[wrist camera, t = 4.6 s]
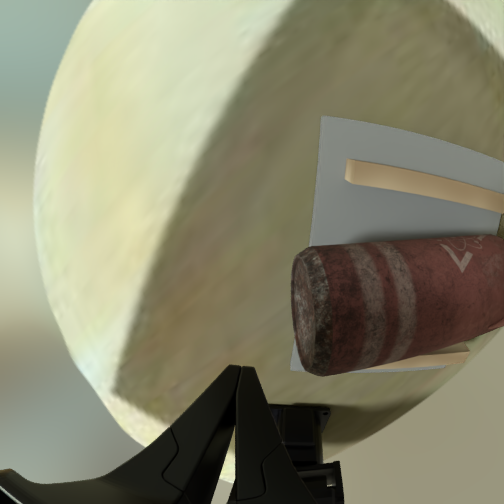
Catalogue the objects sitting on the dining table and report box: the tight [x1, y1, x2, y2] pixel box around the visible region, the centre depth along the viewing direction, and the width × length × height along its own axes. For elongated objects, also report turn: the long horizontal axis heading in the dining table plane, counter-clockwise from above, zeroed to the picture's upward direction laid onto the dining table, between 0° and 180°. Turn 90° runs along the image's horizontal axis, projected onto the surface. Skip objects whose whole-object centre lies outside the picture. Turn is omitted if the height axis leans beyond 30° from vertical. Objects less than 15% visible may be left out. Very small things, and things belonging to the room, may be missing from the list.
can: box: [291, 234, 504, 377], centre depth 13 cm, size 6×6×14 cm
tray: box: [291, 116, 504, 373], centre depth 16 cm, size 18×14×3 cm
